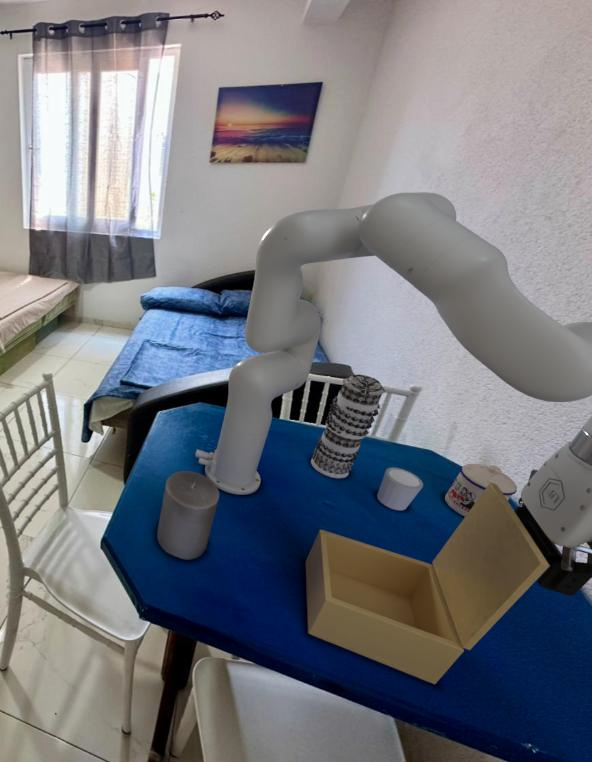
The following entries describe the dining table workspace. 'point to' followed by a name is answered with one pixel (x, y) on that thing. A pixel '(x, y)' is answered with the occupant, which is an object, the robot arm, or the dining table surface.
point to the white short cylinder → (398, 488)
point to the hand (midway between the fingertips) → (534, 558)
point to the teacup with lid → (476, 486)
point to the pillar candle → (187, 514)
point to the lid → (490, 564)
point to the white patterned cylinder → (347, 425)
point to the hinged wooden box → (380, 606)
